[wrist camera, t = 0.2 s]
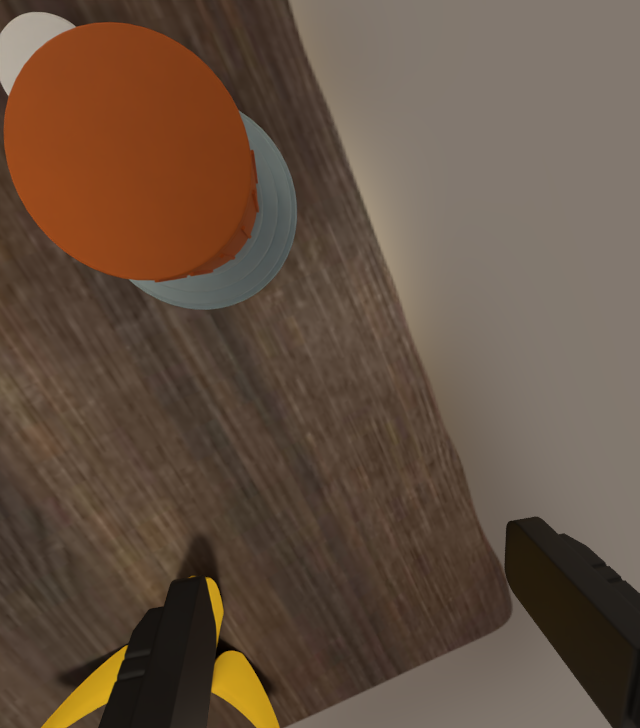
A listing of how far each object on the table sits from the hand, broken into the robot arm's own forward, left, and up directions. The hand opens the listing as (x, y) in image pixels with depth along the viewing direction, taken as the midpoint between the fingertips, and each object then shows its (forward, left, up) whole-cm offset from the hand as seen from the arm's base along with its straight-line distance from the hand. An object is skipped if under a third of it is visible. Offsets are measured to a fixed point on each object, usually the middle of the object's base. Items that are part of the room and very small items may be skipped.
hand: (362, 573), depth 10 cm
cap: (-10, -3, -3) cm, 11 cm away
